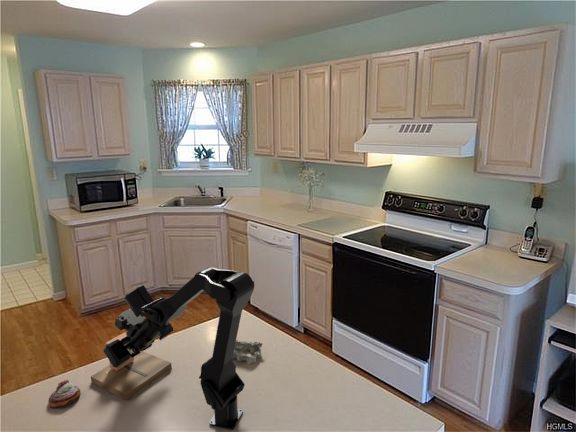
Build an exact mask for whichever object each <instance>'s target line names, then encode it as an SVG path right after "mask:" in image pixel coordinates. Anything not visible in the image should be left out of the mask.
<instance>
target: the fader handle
mask: <svg viewBox="0 0 576 432" xmlns="http://www.w3.org/2000/svg"><path fill="white" fill-rule="evenodd" d="M126 333H127V332H125V331H124V332H123V333H121V334H119V335H117V336H116V337H114V338H113V337H112V339H110V340H108V341H106V342H105V346H106V345H108V344H109V343H111V342H113V341H115V340H117V339H119V340H121V339H123V338H124V337H126V336H127V335H126ZM108 361H109V360H108ZM132 361H134V357H130V359H129V360H128V361H126V362H125V363H123V364H122V365H120V366H119V367H117V368H116V367H113V365H112V364H111V362H110V361H109V363H108V364H109V365H110V368H112V369H114V370H116V371H118V370H119V369H121V368H122V367H124V366H126V365H127V364H129V363H130V362H132Z"/></svg>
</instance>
